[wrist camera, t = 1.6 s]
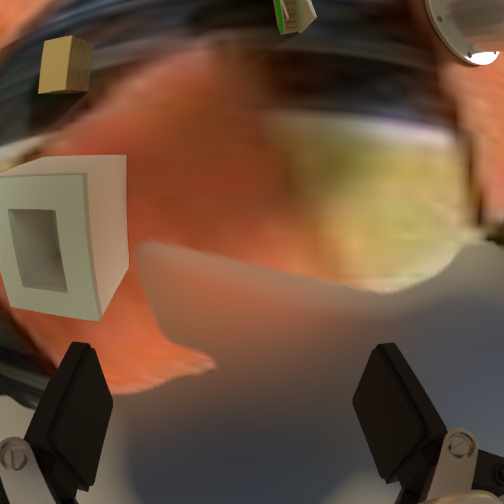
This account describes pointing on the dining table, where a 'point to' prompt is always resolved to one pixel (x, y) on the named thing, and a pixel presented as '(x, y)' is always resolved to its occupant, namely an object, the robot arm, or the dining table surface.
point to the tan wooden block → (66, 66)
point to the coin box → (64, 234)
